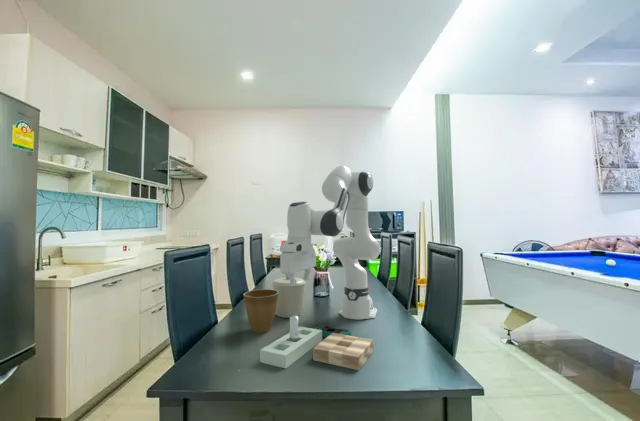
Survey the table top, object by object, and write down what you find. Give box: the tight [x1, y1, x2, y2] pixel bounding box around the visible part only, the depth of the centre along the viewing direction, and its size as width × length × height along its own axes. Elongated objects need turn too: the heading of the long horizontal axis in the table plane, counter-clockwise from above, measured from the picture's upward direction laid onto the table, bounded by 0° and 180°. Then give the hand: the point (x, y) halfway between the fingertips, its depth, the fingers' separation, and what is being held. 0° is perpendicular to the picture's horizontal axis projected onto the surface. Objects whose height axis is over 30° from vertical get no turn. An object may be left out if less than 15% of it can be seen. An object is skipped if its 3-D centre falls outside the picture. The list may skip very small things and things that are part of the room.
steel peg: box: [289, 315, 299, 342], centre depth 109 cm, size 3×3×12 cm
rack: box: [259, 326, 323, 369], centre depth 109 cm, size 26×10×4 cm, turn 154°
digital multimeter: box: [314, 324, 352, 338], centre depth 124 cm, size 7×15×3 cm, turn 55°
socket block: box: [312, 333, 375, 371], centre depth 105 cm, size 16×16×4 cm
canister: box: [270, 274, 307, 319], centre depth 153 cm, size 18×18×21 cm
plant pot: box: [243, 288, 278, 334], centre depth 131 cm, size 15×15×16 cm
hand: (300, 282), depth 112 cm, fingers open, 8 cm apart
